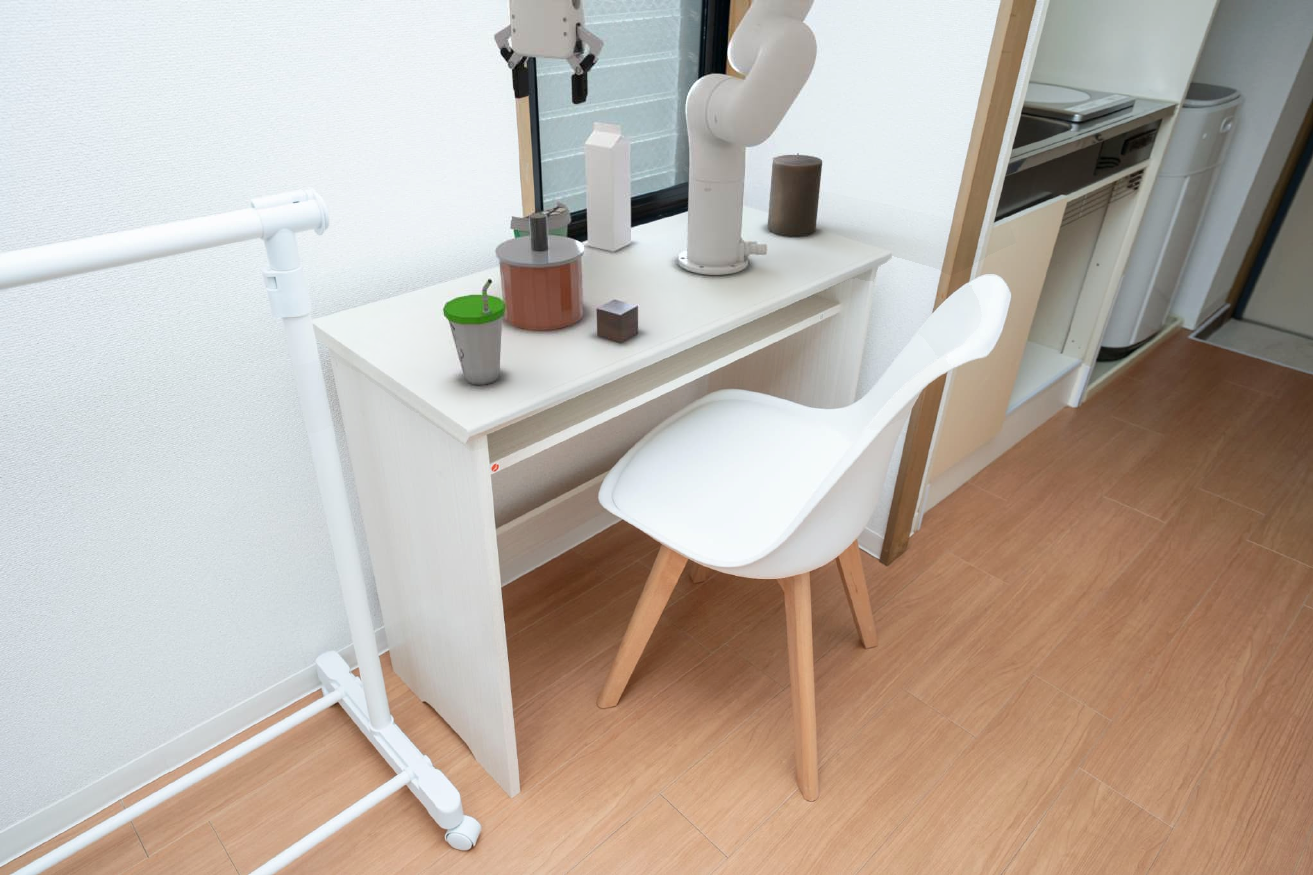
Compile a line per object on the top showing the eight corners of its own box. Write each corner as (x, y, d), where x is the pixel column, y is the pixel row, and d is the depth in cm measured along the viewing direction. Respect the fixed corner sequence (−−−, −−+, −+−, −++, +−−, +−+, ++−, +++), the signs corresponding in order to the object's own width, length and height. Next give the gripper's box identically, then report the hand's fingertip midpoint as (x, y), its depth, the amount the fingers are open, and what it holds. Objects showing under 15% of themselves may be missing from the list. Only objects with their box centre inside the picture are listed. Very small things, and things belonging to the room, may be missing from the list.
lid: (583, 241, 134) (581, 202, 130) (585, 270, 122) (584, 228, 119) (498, 243, 132) (495, 203, 129) (493, 272, 121) (489, 230, 118)
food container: (539, 281, 144) (535, 223, 139) (513, 273, 148) (509, 216, 142) (587, 262, 153) (585, 207, 148) (562, 255, 156) (559, 201, 151)
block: (614, 326, 129) (614, 299, 126) (638, 333, 126) (638, 305, 124) (597, 336, 125) (596, 308, 123) (620, 343, 123) (620, 315, 121)
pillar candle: (813, 238, 166) (822, 160, 158) (763, 234, 168) (769, 156, 160) (817, 224, 174) (825, 148, 166) (769, 220, 176) (775, 145, 168)
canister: (582, 298, 138) (579, 238, 133) (584, 329, 128) (581, 265, 122) (506, 300, 137) (501, 240, 132) (502, 331, 126) (496, 267, 121)
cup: (451, 367, 116) (438, 262, 108) (509, 362, 118) (499, 258, 110) (453, 393, 110) (438, 284, 102) (514, 387, 111) (504, 279, 103)
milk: (613, 252, 158) (611, 129, 146) (587, 246, 161) (583, 125, 149) (631, 243, 162) (630, 123, 151) (605, 237, 165) (603, 119, 153)
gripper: (613, -31, 116) (614, 101, 125) (505, -35, 122) (513, 91, 131) (587, -30, 110) (590, 109, 119) (475, -34, 116) (486, 99, 125)
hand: (550, 100), depth 125 cm, fingers open, 9 cm apart
